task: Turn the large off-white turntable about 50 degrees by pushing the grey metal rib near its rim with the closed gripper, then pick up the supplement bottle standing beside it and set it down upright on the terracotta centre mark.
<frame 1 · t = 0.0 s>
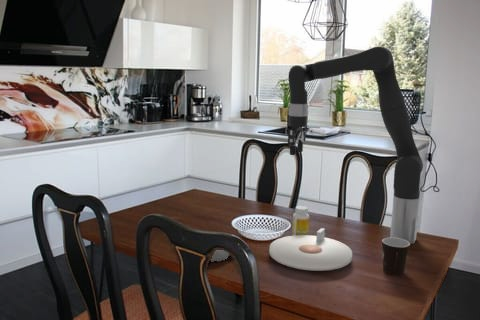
hand: (296, 153, 200), 29 cm above the table, tool pointing down, fingers open, 8 cm apart
supplement bottle: (300, 235, 188), on the table
turntable: (310, 246, 165), point 4 cm above the table, hinge at 0.0°
coffee mug: (391, 273, 155), on the table
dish: (214, 256, 167), on the table
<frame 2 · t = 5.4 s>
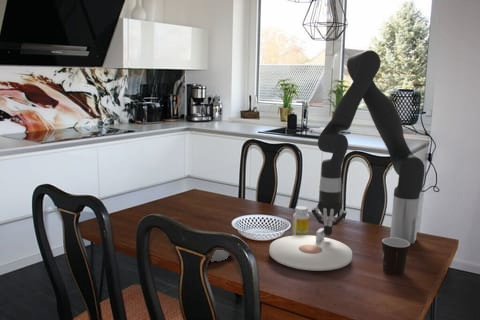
hand: (327, 235, 174), 5 cm above the table, tool pointing down, fingers closed
turntable: (310, 246, 165), point 4 cm above the table, hinge at 0.9°, touching gripper
everything else where it was.
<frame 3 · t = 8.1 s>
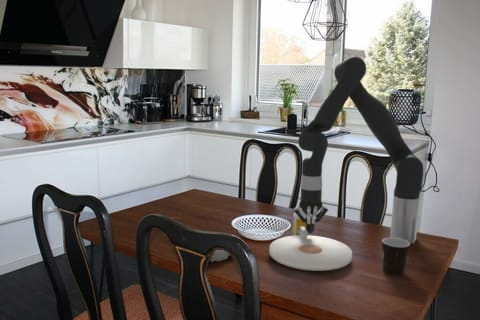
hand: (309, 232, 176), 5 cm above the table, tool pointing down, fingers closed
turntable: (310, 246, 165), point 4 cm above the table, hinge at 32.9°, touching gripper
everything else where it was.
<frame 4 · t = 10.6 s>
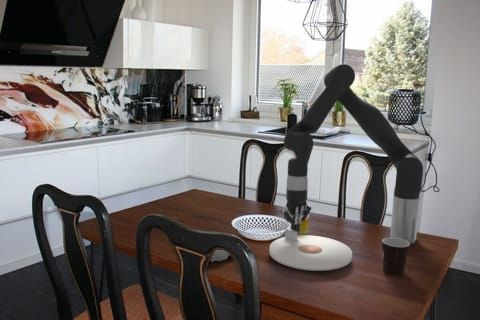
hand: (295, 232, 175), 5 cm above the table, tool pointing down, fingers closed
turntable: (310, 246, 165), point 4 cm above the table, hinge at 58.5°, touching gripper
everything else where it was.
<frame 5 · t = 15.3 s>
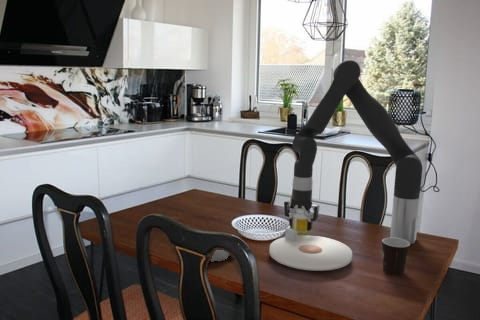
hand: (300, 228, 187), 3 cm above the table, tool pointing down, fingers closed on supplement bottle, 6 cm apart
supplement bottle: (300, 235, 188), on the table, touching gripper
turntable: (310, 246, 165), point 4 cm above the table, hinge at 58.6°
everything else where it was.
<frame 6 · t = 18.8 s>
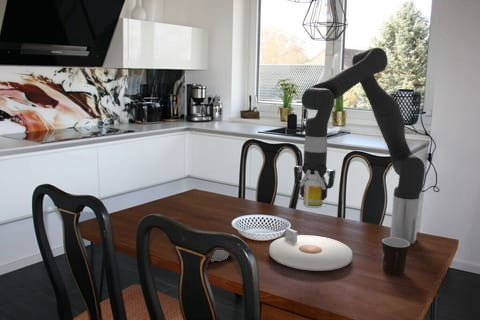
hand: (313, 198, 161), 21 cm above the table, tool pointing down, fingers closed on supplement bottle, 6 cm apart
supplement bottle: (312, 206, 162), point 18 cm above the table, touching gripper
everything else where it was.
when the fingers open (8 cm above the table, at t = 22.6 s): supplement bottle drops 1 cm, resting on turntable.
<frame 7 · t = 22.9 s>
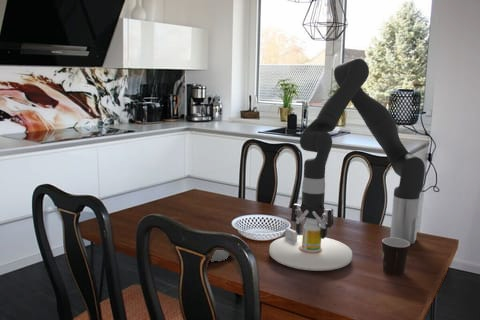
hand: (311, 236, 164), 8 cm above the table, tool pointing down, fingers open, 8 cm apart
supplement bottle: (311, 249, 165), point 3 cm above the table, touching turntable
turntable: (310, 246, 165), point 4 cm above the table, hinge at 58.6°, touching supplement bottle
everything else where it was.
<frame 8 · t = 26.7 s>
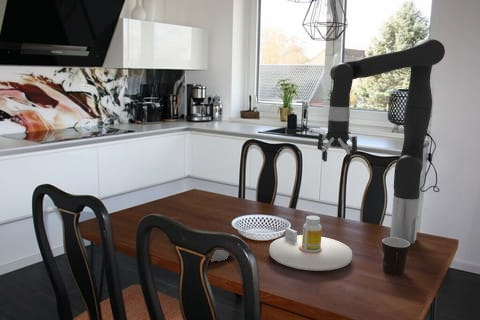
hand: (336, 162, 178), 30 cm above the table, tool pointing down, fingers open, 8 cm apart
nothing on the table moved.
at the end: turntable at +59° (first picture: +0°); supplement bottle 0.3 cm off-centre on the turntable, point 3.2 cm above the turntable's base; supplement bottle tilted 0° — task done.
